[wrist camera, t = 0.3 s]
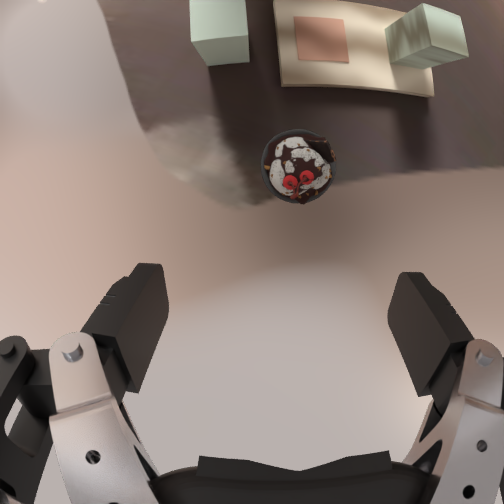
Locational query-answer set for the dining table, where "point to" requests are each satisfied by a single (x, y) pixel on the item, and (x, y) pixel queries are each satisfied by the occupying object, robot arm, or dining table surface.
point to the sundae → (298, 166)
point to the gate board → (364, 45)
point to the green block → (220, 31)
